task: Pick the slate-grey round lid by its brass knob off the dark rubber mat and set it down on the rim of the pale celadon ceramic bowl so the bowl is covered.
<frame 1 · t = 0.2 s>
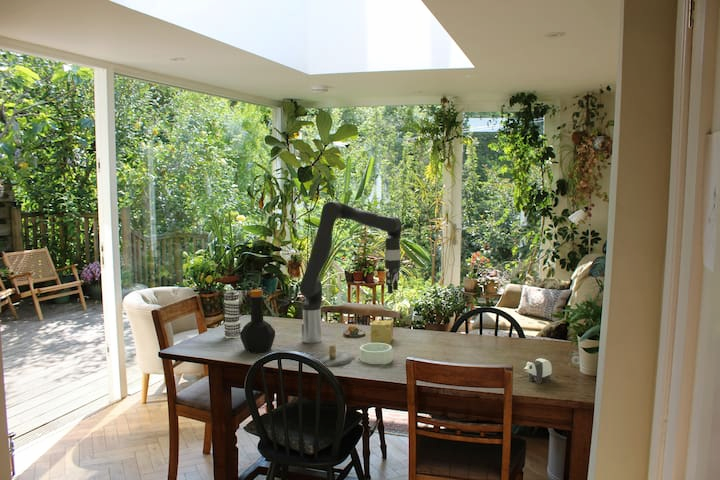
hand: (392, 291, 276), 29 cm above the table, fingers open, 8 cm apart
mat: (332, 361, 262), on the table
lid: (332, 360, 262), point 1 cm above the table, touching mat
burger: (354, 335, 307), on the table
bowl: (376, 359, 264), on the table
bottle: (258, 350, 283), on the table
cheese: (381, 341, 295), on the table
decorative candle: (232, 336, 308), on the table
giant panda: (537, 381, 233), on the table
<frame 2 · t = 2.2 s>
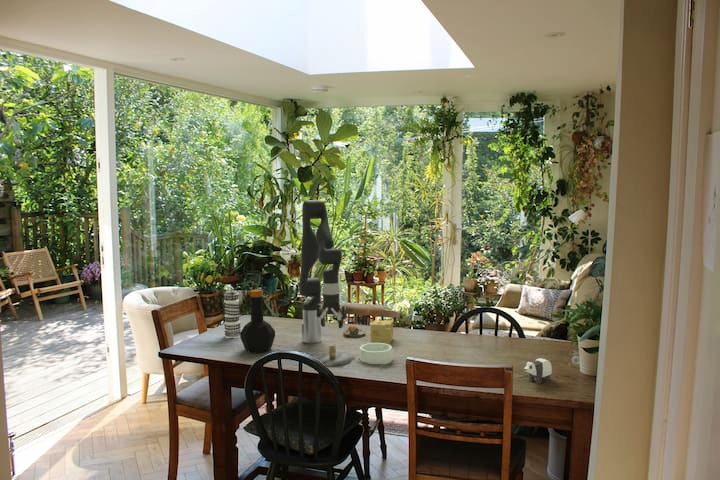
hand: (331, 327, 261), 16 cm above the table, fingers open, 8 cm apart
nothing on the table moved.
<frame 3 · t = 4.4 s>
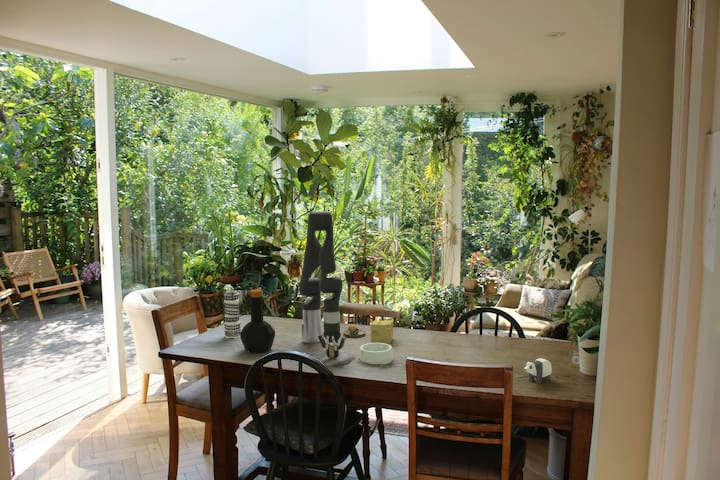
hand: (332, 357, 262), 2 cm above the table, fingers closed on lid, 3 cm apart
lid: (332, 360, 262), point 1 cm above the table, touching gripper, mat
everything else where it was.
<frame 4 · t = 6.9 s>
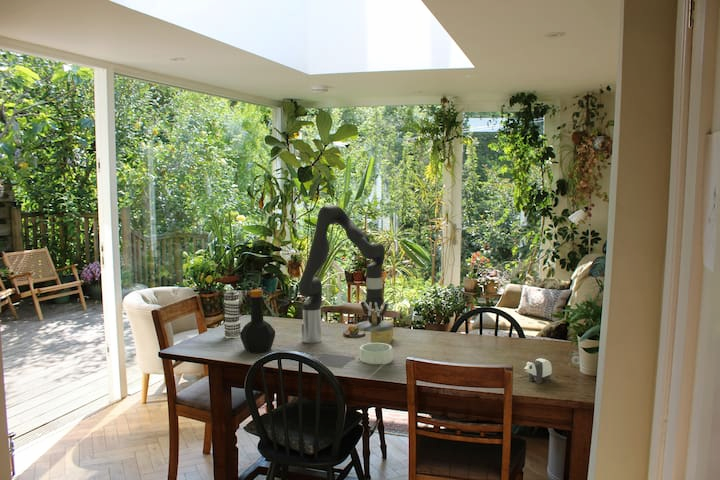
hand: (375, 323, 262), 17 cm above the table, fingers closed on lid, 3 cm apart
lid: (375, 327, 262), point 16 cm above the table, touching gripper
everything else where it was.
when the fingers open (9 cm above the table, at t = 9.1 s): lid stays where it is, resting on bowl.
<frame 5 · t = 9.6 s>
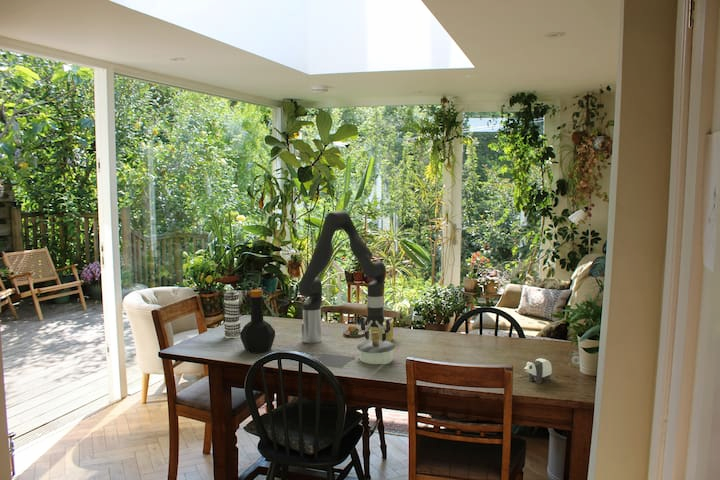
hand: (375, 340, 263), 9 cm above the table, fingers open, 7 cm apart
lid: (375, 347, 263), point 6 cm above the table, touching bowl
everything else where it was.
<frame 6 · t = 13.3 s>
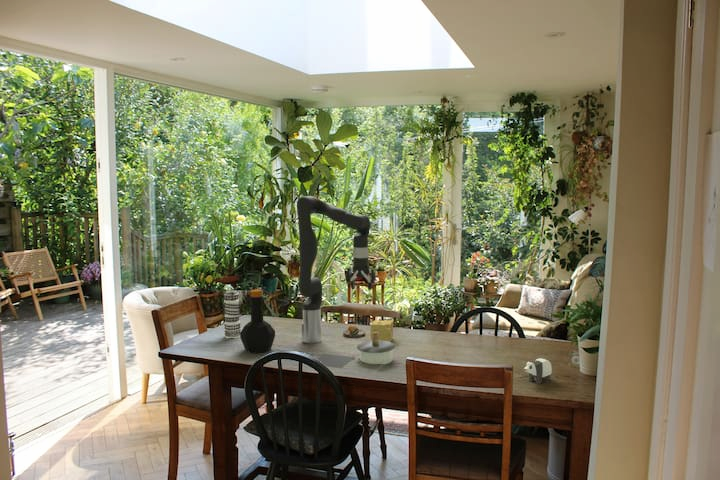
hand: (361, 289, 277), 30 cm above the table, fingers open, 8 cm apart
nothing on the table moved.
at the end: lid 0.1 cm off-centre on the bowl, point 6.0 cm above the bowl's base; lid tilted 0°; the gripper is holding nothing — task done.
